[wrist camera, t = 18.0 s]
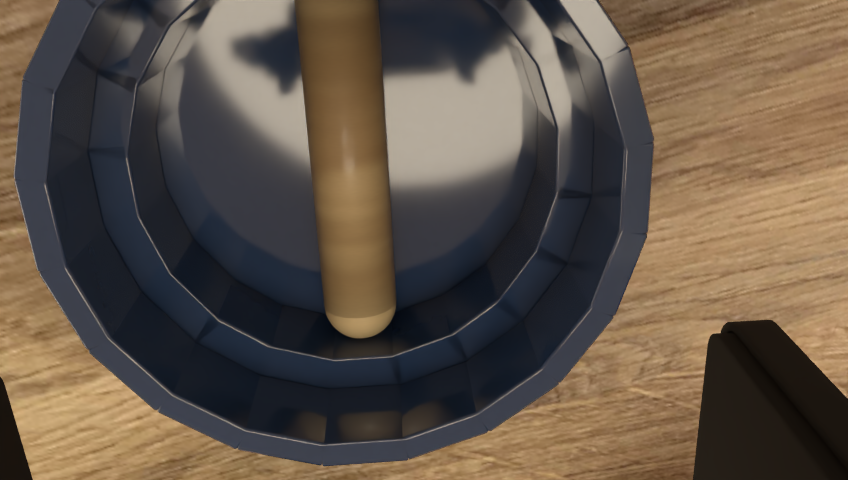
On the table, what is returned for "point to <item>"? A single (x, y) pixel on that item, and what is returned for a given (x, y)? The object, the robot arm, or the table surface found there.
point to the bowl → (296, 223)
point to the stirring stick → (348, 161)
